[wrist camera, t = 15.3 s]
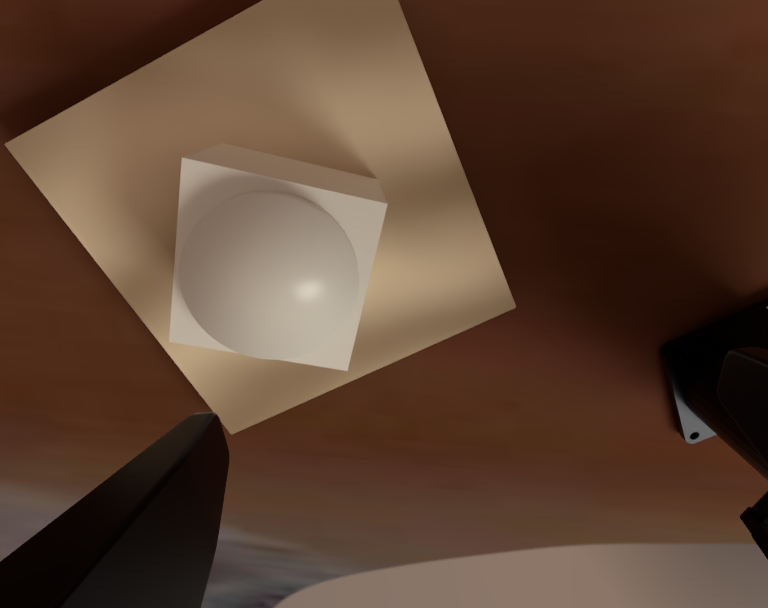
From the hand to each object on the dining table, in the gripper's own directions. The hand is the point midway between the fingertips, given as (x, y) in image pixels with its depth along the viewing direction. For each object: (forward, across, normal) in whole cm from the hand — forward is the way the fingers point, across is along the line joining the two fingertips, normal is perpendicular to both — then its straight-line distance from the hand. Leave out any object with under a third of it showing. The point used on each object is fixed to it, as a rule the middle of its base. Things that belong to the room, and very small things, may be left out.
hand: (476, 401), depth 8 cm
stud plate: (+12, +4, 0) cm, 13 cm away
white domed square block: (+11, +4, 0) cm, 12 cm away
